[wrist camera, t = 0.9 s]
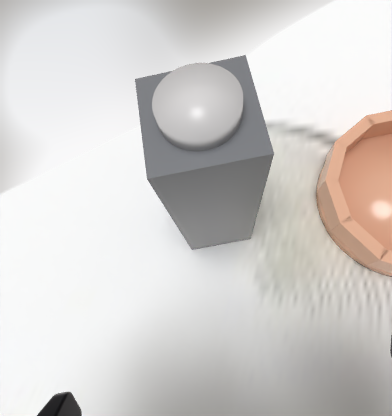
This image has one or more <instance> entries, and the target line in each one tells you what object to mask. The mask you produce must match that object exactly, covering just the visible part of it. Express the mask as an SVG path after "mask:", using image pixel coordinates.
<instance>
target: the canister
mask: <svg viewBox="0 0 392 416" xmlns="http://www.w3.org/2000/svg"><path fill="white" fill-rule="evenodd" d="M135 82H136V90H137V99H138V106H139V115H140V124H141V132H142V140H143V149H144V157H145V165H146V174H147V180H148V181H149V183H150V184H151V186H152V187H153V189H154V191H155V192H156V194H157V195H158V197H159V198H160V200H161V202H162V203H163V205H164V206H165V208H166V210H167V211H168V213H169V214H170V216H171V217H172V219H173V221H174V222H175V224H176V225H177V227H178V228H179V230H180V232H181V233H182V235H183V236H184V238H185V240H186V241H187V243H188V244H189V246H190V247H191V249H192V250H193V249H198V248H203V247H209V246H214V245H219V244H225V243H230V242H235V241H241V240H246V239H250V238H251V235H252V231H253V227H254V224H255V220H256V217H257V213H258V209H259V206H260V202H261V199H262V195H263V191H264V188H265V184H266V181H267V177H268V174H269V170H270V166H271V163H272V159H273V156H274V152H273V148H272V145H271V142H270V138H269V135H268V131H267V128H266V124H265V121H264V117H263V114H262V110H261V107H260V104H259V100H258V97H257V93H256V90H255V86H254V83H253V79H252V76H251V72H250V69H249V66H248V62H247V59H246V55H244V56H240V57H235V58H230V59H227V60H221V61H217V62H212V63H195V64H189V65H185V66H183V67H180V68H178V69H176V70H174V71H171V72H166V73H161V74H157V75H152V76H147V77H143V78H138V79H135Z"/></svg>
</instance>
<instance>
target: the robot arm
mask: <svg viewBox="0 0 392 416" xmlns="http://www.w3.org/2000/svg"><path fill="white" fill-rule="evenodd" d="M390 351H391V356H392V337H391V350H390ZM37 416H82V414H81V409H80V407H79V405H78V403H77V402H76V400H75V398H74V396H73V395H72V393H71V392H63V393H58V394H56V395H54V396H53V397H52V398H51V399H50V400H49V402H48V403H47V404H46V405H45V406H44V408H43V409H42V410H41V411H40V413H39V414H38V415H37Z"/></svg>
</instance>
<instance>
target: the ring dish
mask: <svg viewBox="0 0 392 416" xmlns="http://www.w3.org/2000/svg"><path fill="white" fill-rule="evenodd" d="M316 197H317V206H318V210H319V214H320V217H321V219H322V222H323V224H324V226H325V228H326V230H327V231H328V233H329V235H330V236H331V237H332V239H333V240H334V241H335V243H336V244H337V245H338V246H339V247H340V248H341V249H342V250H343V251H344V252H345V253H346V254H348V255H349V256H350V257H351V258H352V259H354V260H355V261H357V262H358V263H360V264H361V265H363V266H365V267H367V268H369V269H371V270H373V271H375V272H378V273H381V274H383V275H387V276H390V277H392V110H391V111H386V112H382V113H377V114H372V115H367V116H365V117H364V118H363V119H362V120H360V121H359V122H358V123H357V124H356V125H355V126H353V127H352V128H351V129H350V130H349V131H347V132H346V133H345V134H344V135H343V136H342V137H340V138H339V139H338V140H337V141H336V142H335V143H334V145H333V147H332V148H331V150H330V151H329V153H328V155H327V157H326V161H325V164H324V166H323V168H322V170H321V173H320V176H319V178H318V184H317V195H316Z"/></svg>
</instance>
